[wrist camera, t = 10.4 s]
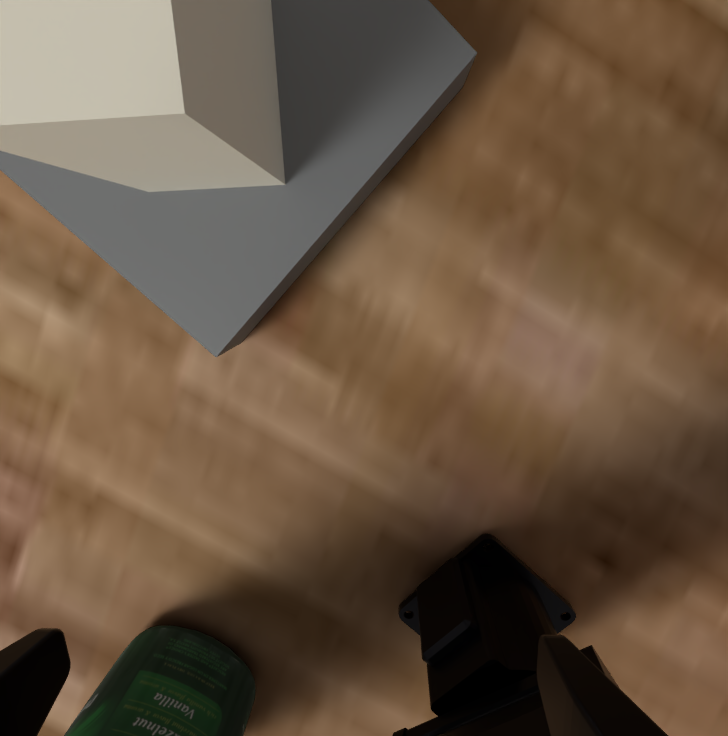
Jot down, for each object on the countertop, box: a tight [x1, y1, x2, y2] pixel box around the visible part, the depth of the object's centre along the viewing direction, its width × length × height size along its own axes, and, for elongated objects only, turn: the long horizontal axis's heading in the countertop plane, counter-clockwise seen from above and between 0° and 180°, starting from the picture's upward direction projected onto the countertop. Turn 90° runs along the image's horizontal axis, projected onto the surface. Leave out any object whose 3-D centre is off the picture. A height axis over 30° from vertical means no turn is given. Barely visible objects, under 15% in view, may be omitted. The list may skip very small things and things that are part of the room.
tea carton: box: [0, 0, 285, 192], centre depth 11 cm, size 6×5×8 cm
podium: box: [0, 0, 477, 357], centre depth 17 cm, size 12×14×3 cm
